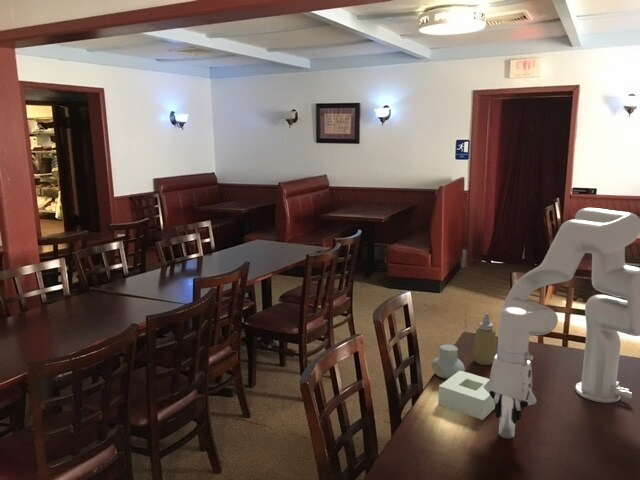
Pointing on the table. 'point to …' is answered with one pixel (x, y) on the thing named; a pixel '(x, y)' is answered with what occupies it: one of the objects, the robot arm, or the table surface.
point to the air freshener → (447, 362)
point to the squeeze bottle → (485, 342)
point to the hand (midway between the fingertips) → (507, 418)
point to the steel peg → (507, 417)
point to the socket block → (466, 395)
